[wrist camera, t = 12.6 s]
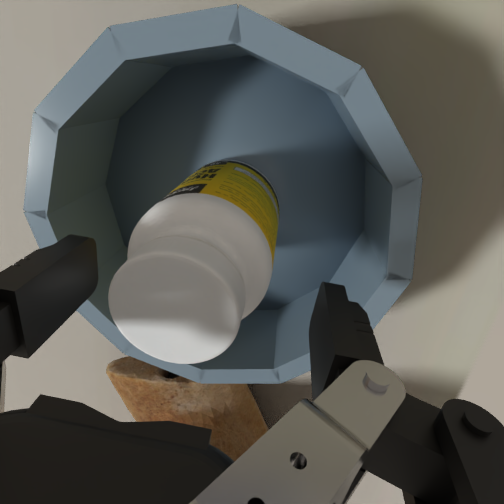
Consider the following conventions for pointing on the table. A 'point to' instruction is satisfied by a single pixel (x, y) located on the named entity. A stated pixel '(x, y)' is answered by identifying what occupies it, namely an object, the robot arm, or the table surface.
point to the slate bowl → (230, 148)
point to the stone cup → (190, 403)
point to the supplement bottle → (198, 264)
